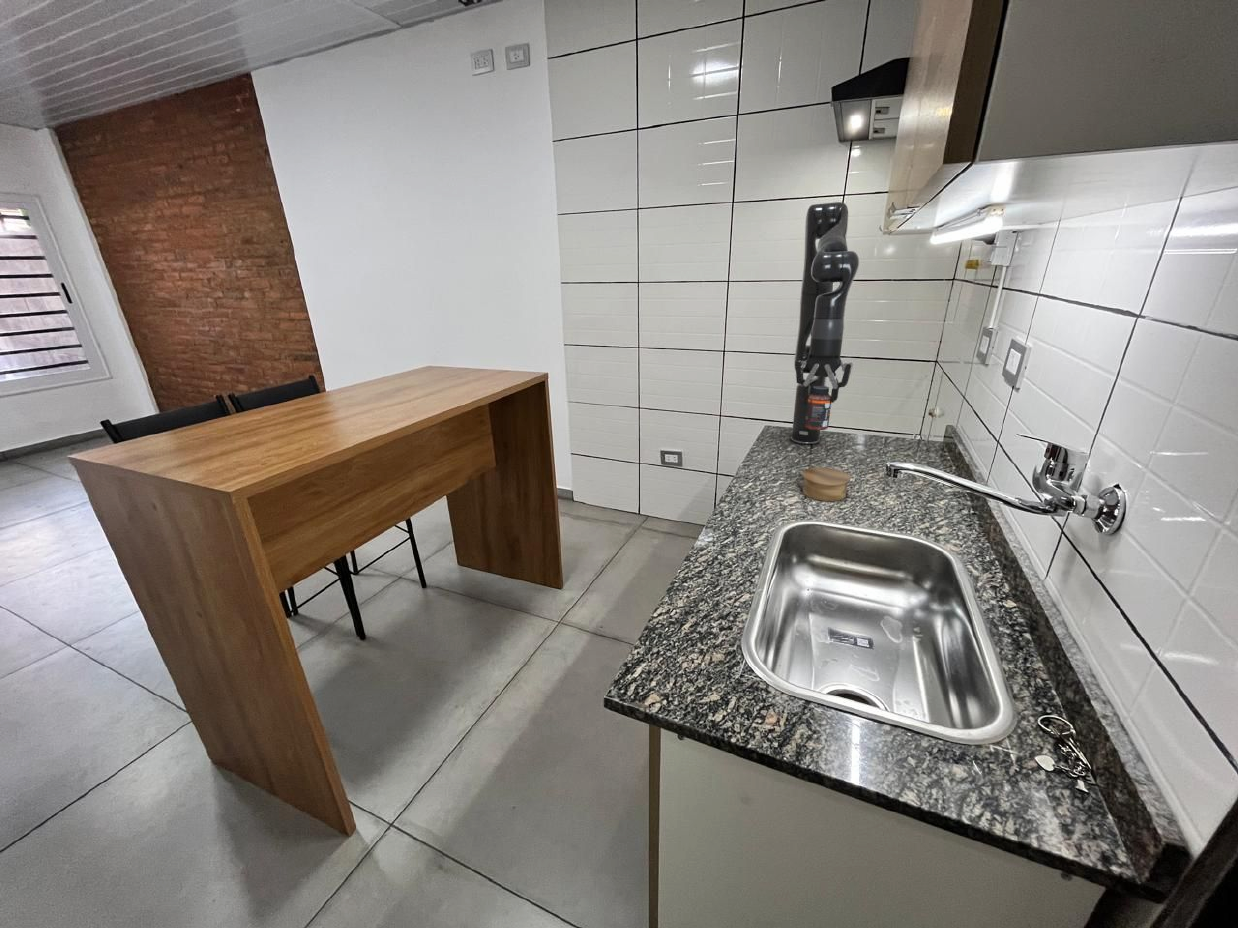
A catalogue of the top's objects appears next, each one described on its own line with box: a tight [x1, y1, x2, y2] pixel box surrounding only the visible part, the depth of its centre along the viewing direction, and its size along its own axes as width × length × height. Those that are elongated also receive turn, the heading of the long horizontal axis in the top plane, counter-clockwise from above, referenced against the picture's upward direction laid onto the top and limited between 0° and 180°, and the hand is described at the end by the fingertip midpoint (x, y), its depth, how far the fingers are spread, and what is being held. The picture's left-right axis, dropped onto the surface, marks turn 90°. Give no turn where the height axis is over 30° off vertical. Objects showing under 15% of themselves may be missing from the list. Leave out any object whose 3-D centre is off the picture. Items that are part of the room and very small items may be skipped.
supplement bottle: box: [805, 385, 832, 431], centre depth 130 cm, size 6×6×11 cm
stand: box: [801, 466, 851, 502], centre depth 131 cm, size 12×12×5 cm
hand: (819, 400), depth 129 cm, fingers closed on supplement bottle, 6 cm apart
